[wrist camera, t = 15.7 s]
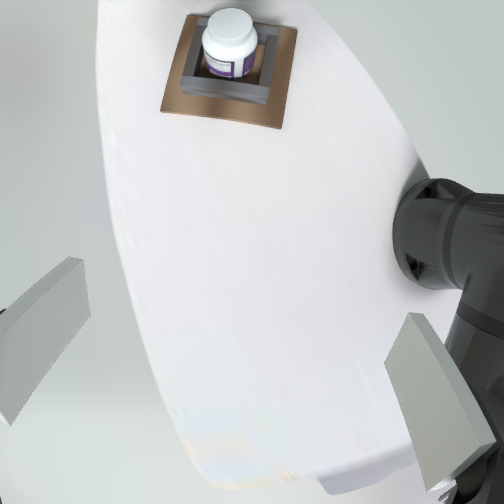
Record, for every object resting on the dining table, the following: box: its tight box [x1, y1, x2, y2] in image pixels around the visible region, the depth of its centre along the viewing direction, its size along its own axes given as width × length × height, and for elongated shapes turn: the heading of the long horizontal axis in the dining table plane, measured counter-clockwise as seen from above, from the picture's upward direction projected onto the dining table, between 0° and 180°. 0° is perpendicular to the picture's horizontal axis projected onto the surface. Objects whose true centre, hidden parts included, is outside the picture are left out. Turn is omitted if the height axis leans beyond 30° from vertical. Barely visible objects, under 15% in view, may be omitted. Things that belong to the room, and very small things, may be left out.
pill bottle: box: [202, 8, 258, 82], centre depth 25 cm, size 5×5×10 cm
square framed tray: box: [160, 15, 298, 129], centre depth 29 cm, size 14×14×4 cm
